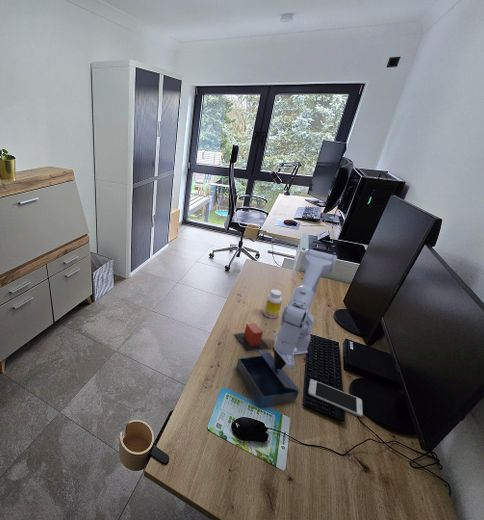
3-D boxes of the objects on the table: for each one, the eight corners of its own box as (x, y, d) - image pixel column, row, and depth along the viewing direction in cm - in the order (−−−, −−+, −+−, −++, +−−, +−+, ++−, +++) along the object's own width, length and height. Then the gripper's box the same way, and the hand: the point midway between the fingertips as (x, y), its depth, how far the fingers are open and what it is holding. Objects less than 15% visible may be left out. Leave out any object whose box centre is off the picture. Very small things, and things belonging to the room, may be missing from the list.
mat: (255, 332, 128) (256, 331, 128) (268, 348, 119) (268, 347, 119) (234, 335, 126) (235, 334, 126) (246, 351, 118) (246, 350, 117)
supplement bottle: (279, 319, 136) (285, 297, 131) (264, 317, 138) (270, 295, 132) (275, 311, 142) (282, 289, 136) (261, 309, 143) (267, 287, 138)
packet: (252, 335, 126) (255, 322, 122) (259, 345, 120) (263, 332, 117) (243, 336, 125) (246, 323, 122) (250, 346, 120) (254, 333, 117)
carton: (266, 364, 112) (269, 354, 109) (294, 402, 97) (298, 391, 95) (236, 368, 110) (238, 358, 107) (259, 408, 95) (263, 397, 93)
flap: (269, 353, 109) (270, 353, 109) (298, 390, 94) (299, 390, 94) (257, 350, 107) (257, 349, 107) (285, 387, 92) (285, 387, 92)
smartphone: (309, 380, 105) (310, 378, 105) (361, 401, 98) (362, 399, 97) (307, 394, 100) (308, 392, 99) (361, 417, 92) (362, 415, 92)
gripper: (308, 355, 87) (296, 386, 93) (293, 324, 100) (284, 353, 106) (284, 352, 88) (274, 383, 94) (272, 322, 101) (264, 351, 107)
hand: (277, 367), depth 100 cm, fingers closed
